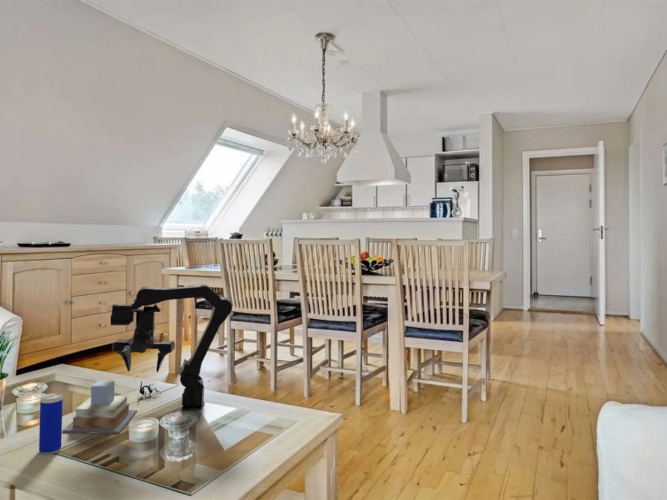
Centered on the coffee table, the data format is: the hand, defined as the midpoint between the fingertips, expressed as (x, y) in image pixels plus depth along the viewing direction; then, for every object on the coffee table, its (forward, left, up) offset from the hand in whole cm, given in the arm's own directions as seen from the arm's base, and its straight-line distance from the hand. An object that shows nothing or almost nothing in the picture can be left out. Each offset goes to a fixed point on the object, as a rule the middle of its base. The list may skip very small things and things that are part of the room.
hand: (143, 371), depth 156 cm
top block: (+9, +10, -7) cm, 15 cm away
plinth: (+9, +10, -13) cm, 19 cm away
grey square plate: (+9, +10, -13) cm, 19 cm away
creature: (+1, -13, -13) cm, 19 cm away
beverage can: (+15, +29, -13) cm, 35 cm away
